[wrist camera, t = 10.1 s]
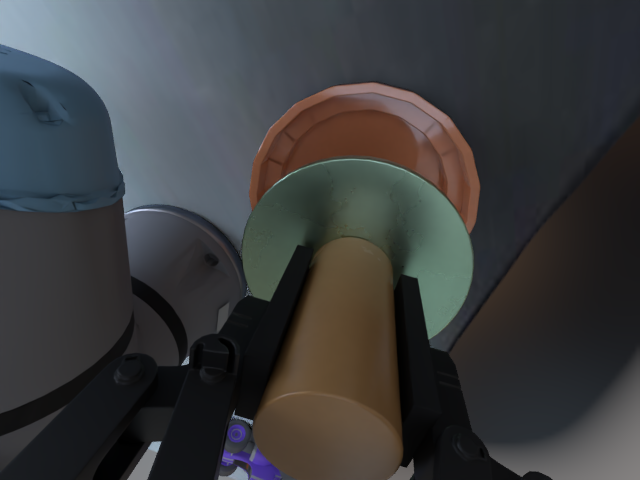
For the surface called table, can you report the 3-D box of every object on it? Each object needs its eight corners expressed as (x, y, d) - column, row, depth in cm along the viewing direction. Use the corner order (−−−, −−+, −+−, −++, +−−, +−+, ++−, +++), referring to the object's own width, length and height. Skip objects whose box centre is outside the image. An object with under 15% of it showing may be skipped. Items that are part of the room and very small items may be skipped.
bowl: (256, 244, 32) (239, 268, 28) (285, 57, 24) (266, 54, 20) (419, 290, 31) (425, 322, 27) (502, 113, 24) (526, 121, 20)
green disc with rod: (238, 312, 20) (133, 489, 12) (265, 123, 15) (106, 192, 6) (418, 364, 20) (448, 590, 11) (512, 189, 14) (707, 362, 6)
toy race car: (218, 406, 44) (194, 455, 39) (321, 446, 45) (313, 501, 39) (205, 443, 49) (182, 492, 43) (300, 479, 49) (289, 533, 43)
